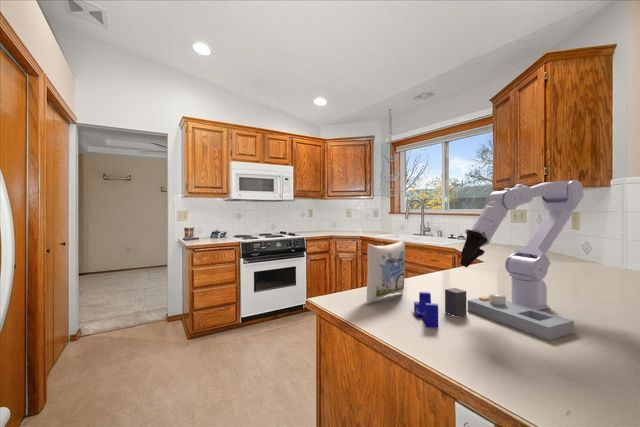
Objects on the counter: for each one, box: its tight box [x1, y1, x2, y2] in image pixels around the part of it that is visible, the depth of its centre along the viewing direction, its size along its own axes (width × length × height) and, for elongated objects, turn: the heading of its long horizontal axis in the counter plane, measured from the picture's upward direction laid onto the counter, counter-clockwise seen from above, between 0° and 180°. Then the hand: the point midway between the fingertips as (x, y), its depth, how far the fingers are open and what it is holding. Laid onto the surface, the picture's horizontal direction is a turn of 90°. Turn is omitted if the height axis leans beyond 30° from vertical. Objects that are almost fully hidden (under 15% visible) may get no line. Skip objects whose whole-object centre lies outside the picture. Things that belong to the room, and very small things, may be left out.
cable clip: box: [413, 291, 439, 329], centre depth 80 cm, size 12×4×6 cm, turn 169°
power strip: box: [467, 292, 575, 341], centre depth 78 cm, size 10×22×6 cm, turn 22°
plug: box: [444, 287, 467, 317], centre depth 83 cm, size 4×4×7 cm
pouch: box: [366, 239, 406, 305], centre depth 98 cm, size 8×19×20 cm, turn 124°
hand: (463, 261), depth 82 cm, fingers open, 7 cm apart
